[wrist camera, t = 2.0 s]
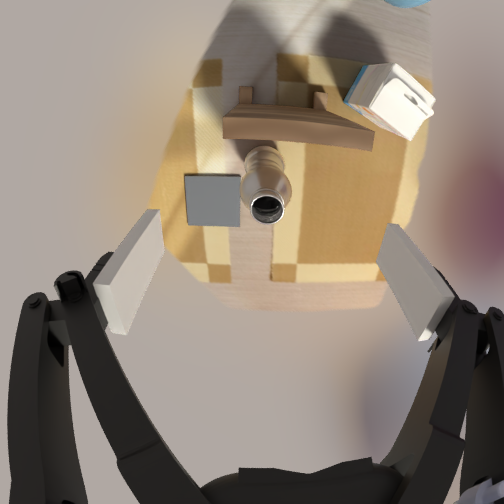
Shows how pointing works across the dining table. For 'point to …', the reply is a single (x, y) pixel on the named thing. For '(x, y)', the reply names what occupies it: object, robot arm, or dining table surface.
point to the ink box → (390, 99)
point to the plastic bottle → (265, 185)
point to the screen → (294, 123)
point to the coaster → (213, 200)
